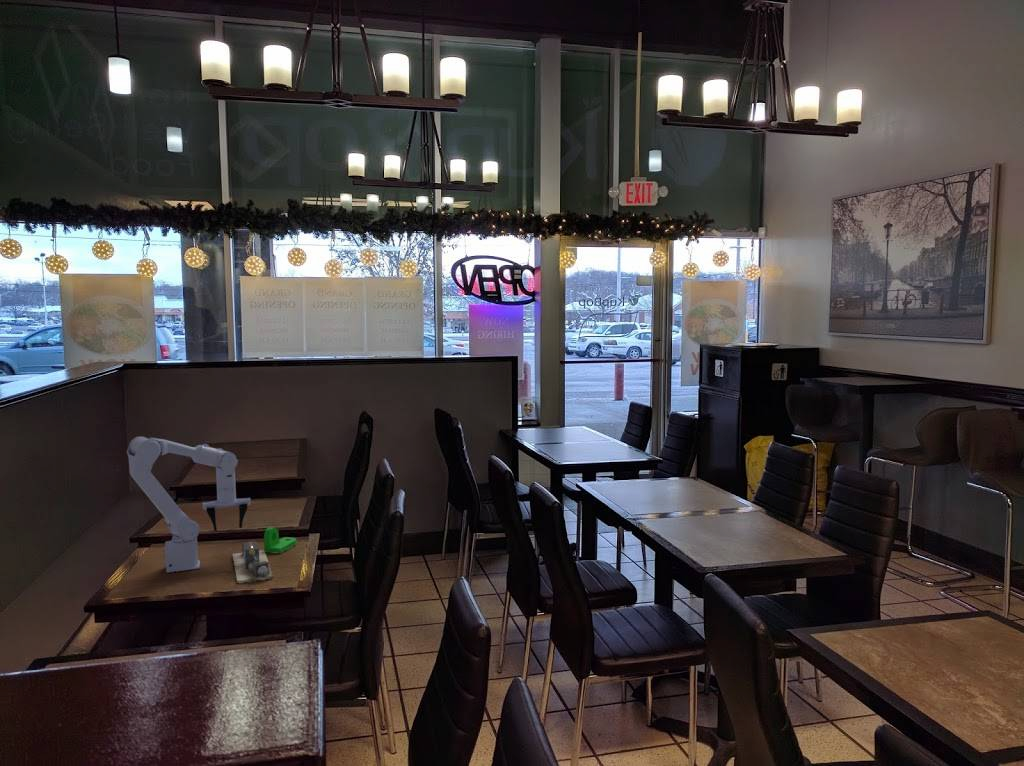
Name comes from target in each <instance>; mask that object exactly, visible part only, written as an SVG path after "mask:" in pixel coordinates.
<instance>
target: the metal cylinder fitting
mask: <svg viewBox="0 0 1024 766" xmlns="http://www.w3.org/2000/svg"><path fill="white" fill-rule="evenodd" d="M248 542H249V541H248ZM248 542H247V541H246V542H245V543H248ZM243 543H244V542H241V553H242V554H243V555H244V548H243Z"/></svg>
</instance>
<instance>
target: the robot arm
mask: <svg viewBox="0 0 1024 766" xmlns="http://www.w3.org/2000/svg"><path fill="white" fill-rule="evenodd" d="M168 453H170V454H174V455H179V456H184V457H190V458H191V459H192V461H193V462H194V463H196V464H200V465H206V466H210V467H215V475H216V499H217V500H212V501H207V502H202V510H203V511H204V510H205V511H206V513H207V515H208V517H209V518H210V520H211V523H212V525H213V530H214V531H215V532H216V531H217V522H216V509H220V508H221V509H222V508H229V507H238V512H239V513H238V516H239V517H238V518H239V519H238V526H239V529H242V528H243V521H244V519H245V518H244V517H245V515H246V512H247V511H248V506H251V505H252V501H251V500H252V499H251V497H247V498H246V497H244V498H237V490H236V467H237V465H238V464H239V460H238V459H237V456H236V454H234V453H233V452H231V451H226V450H224V449H223V448H220V447H218V448H215V447H211V446H210V445H209V444H206V443H203V444H198V445H196V446H194V447H192V446H190V445H189V446H188V445H186V444H183V443H178V442H175V441H171V440H167V439H165V438H164V439H162V438H156V437H149V438H147V437H146V436H141V435H140V436H136V437H134V438H133V439H131V441H130V443H129V444H128V448H127V450H126V454H127V457H128V464H129V466H128V467H129V475H130V476H131V478H132V479H133V480H134V481H135V483H136V484H137V485H138V487H140V489H141V491H142V492H143V493H144V494H145V495H146V497H148V498H149V500H150V501H151V503H153V505H154V506H155V507H156V509H157V510H158V511H159V512H160V513H161V515H162V516H163V517H164V520H165V522H166V523H167V526H168V531H169V533H170V534H172V538H171V540H167V541H165V542H164V543H165V544H164V546H165V547H164V551H165V554H164V555H165V559H164V565H165V569H166V570H165V572H166V573H174V572H175V571H176V572H183V571H190V570H198V569H201V564H200V563H201V562H200V559H199V554H198V553H199V551H198V536H199V533H200V528H201V527H200V525H199V523H198V521H197V522H196V521H195V520H192V519H190V517H189V516H188V515H187V514H186V513H185V512H184V511H183V510H181V508H180V507H179V505H178V504H177V503H176V502H175V501H174V499H173V498H172V497H171V496H170V495H169V493H168V492H167V491H166V490H165V488H164V487H163V486H162V484H161V483H160V482H159V480H158V479H157V478H156V477H155V475H153V473H152V468H153V466H154V464H155V462H156V461H157V460H158V458H159V456H164V455H167V454H168Z"/></svg>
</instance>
